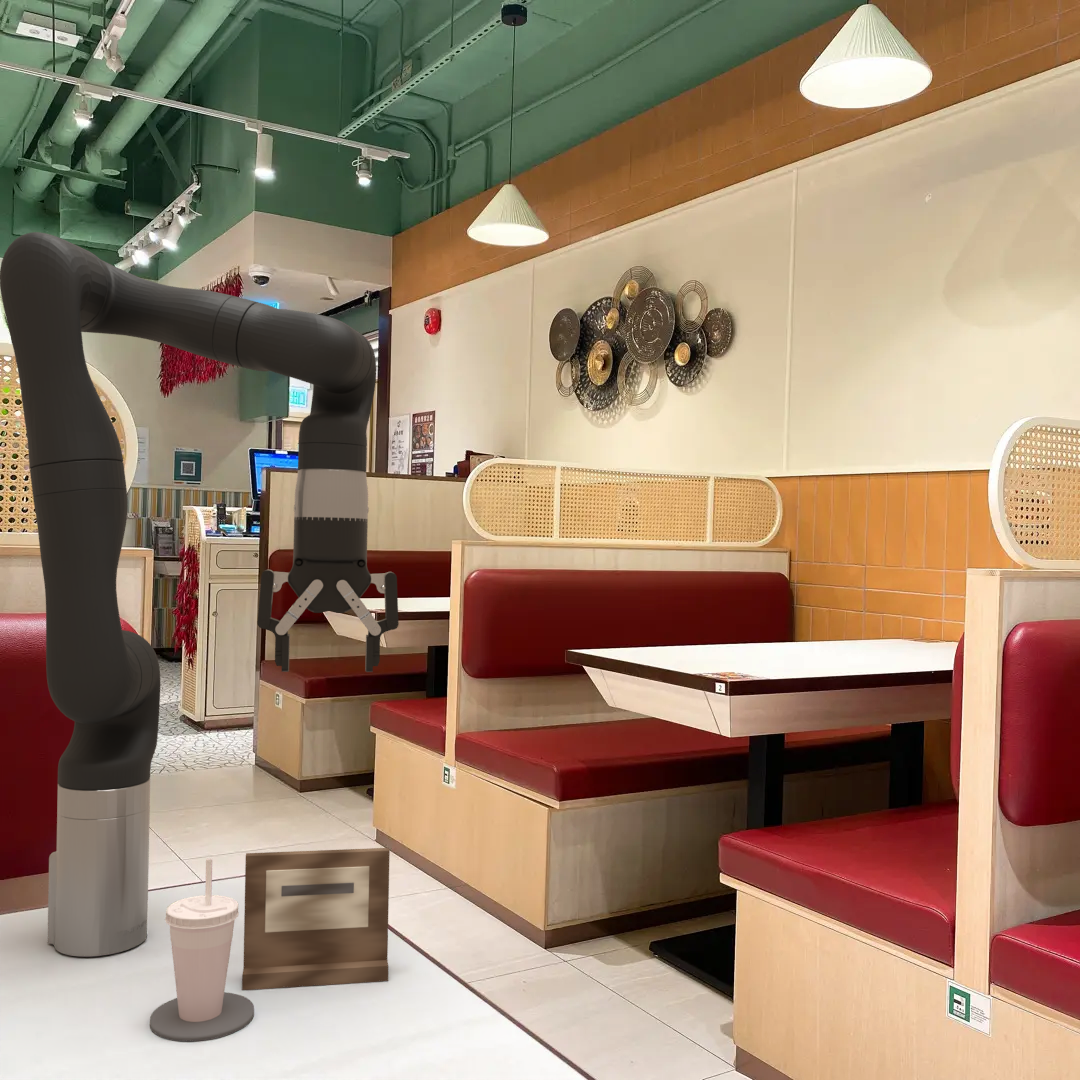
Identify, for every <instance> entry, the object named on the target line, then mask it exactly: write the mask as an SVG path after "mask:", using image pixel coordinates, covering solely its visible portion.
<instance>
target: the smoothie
mask: <svg viewBox="0 0 1080 1080" xmlns="http://www.w3.org/2000/svg"><path fill="white" fill-rule="evenodd" d="M212 890H213V858H212V857H209V858H205V891H204V892H205V893H204V895H195V896H190V897H185V898H181V899H178V900H176V901H174V902H173V903H171V904H169V905H168V906H167V907H166V910H165V919H164V921H165V923H166V925H168V926H169V934H170V942H171V943H170V944H171V951H172V952H171V954H172V961H173V973H174V979H175V980H174V981H175V990H176V998H177V1000H178V1010H179V1017H180V1018H181V1019H182V1020H185V1021H190V1022H201V1021H206V1020H210V1019H213V1018H215V1017H217V1016H218V1015H220V1013H221V1012H222V1005H223V998H224V992H226V991H225V989H226V982H227V977H228V970H229V962H230V955H231V946H232V943H233V936H234V935H233V934H234V927H235V921H236V920H237V918H238V917H239V915H240V914H239V913H240V912H239V903H238V901H237V900H236V899H235V898H232V897H231V896H230V897H229V896H224V895H215V894H214V895H213V893H212Z"/></svg>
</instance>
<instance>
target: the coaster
mask: <svg viewBox="0 0 1080 1080" xmlns="http://www.w3.org/2000/svg"><path fill="white" fill-rule="evenodd" d="M254 1015H255V1006H254V1003H253V1002H252V1001H251V1000H250V999H249V998H247V997H246V996H243V995H241V994H237V993H232V992H228V991H227V992H226V991H224V998H223V1005H222V1012H221V1013H220V1015H218V1016H217V1017H215V1018H213V1019H210V1020H206V1021H201V1022H190V1021H185V1020H182V1019H181V1018H180V1017H179V1010H178V1000H177V997H176V998H173V999H171V1000H168V1001H166V1002H164V1003H162V1004H161V1005H159V1006H158V1007H157V1008H156V1009H154V1010H153V1012H152V1013H151V1014H150V1018H149V1027H150V1030H151V1031H152V1032H153V1033H154V1034H155V1035H156V1036H158V1037H161V1038H162V1039H166V1040H169V1041H170V1040H171V1041H175V1042H201V1041H202V1042H203V1041H204V1042H205V1041H209V1040H214V1039H219V1038H220V1039H221V1038H222V1037H226V1036H229V1035H232V1034H234V1033H236V1032H239V1031H241V1030H242V1029H244V1028H245V1027H247V1026H248V1025H249V1024H250V1023H251V1022H252V1021H253V1019H254ZM250 1021H251V1022H250Z"/></svg>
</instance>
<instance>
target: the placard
mask: <svg viewBox="0 0 1080 1080" xmlns="http://www.w3.org/2000/svg"><path fill="white" fill-rule="evenodd" d="M390 850H391V849H390V848H389V847H375V848H373V847H372V848H371V847H370V848H353V849H352V848H350V849H349V848H346V849H325V850H323V849H320V850H297V851H296V850H295V851H272V852H271V851H270V852H268V851H267V852H247V853H245V867H244V869H245V870H244V871H245V872H244V873H245V875H244V876H245V877H244V878H245V879H244V916H243V917H244V919H243V920H244V923H243V926H244V928H243V965H242V966H243V969H242V974H241V975H242V976H241V977H242V978H241V980H242V981H241V990H242V991H249V990H250V991H251V990H252V991H253V990H264V989H266V990H268V989H280V988H281V989H283V988H298V987H311V986H313V985H314V986H326V985H328V986H329V985H342V984H343V985H345V984H360V983H362V984H363V983H374V982H375V983H377V982H388V981H389V962H388V953H389V952H388V951H389V950H388V949H389V946H388V945H389V943H388V942H389V901H390V899H389V897H390V896H389V895H390V892H389V891H390V852H391V851H390ZM314 986H313V987H314Z"/></svg>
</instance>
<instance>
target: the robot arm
mask: <svg viewBox="0 0 1080 1080" xmlns="http://www.w3.org/2000/svg"><path fill="white" fill-rule="evenodd" d="M0 263H1V264H0V296H1V300H2V301H1V302H2V304H3V310H4V315H5V318H6V319H5V320H6V322H7V328H8V331H9V332H8V333H9V336H10V340H11V344H12V349H13V353H14V357H15V362H16V367H17V373H18V378H19V379H18V380H19V386H20V394H21V395H20V396H21V401H22V402H21V403H22V410H23V417H24V424H25V433H26V438H27V450H28V465H29V473H30V482H31V483H30V484H31V490H32V491H31V492H32V499H33V505H34V511H35V518H36V527H37V533H38V542H39V543H38V545H39V554H40V560H41V568H42V569H41V570H42V576H43V584H44V593H45V594H44V596H45V659H46V660H45V665H46V666H45V667H46V680H47V683H46V684H47V688H48V691H49V695H50V698H51V699H52V701H53V703H54V705H55V706H56V708H57V709H58V711H60V713H62V714H63V715H64V716H65V717H66V718H68V719H69V720H72V721H73V722H74V725H73V731H72V735H71V738H70V739H69V740H70V741H69V743H68V745H67V746H66V748H65V750H64V751H63V753H62V754H61V756H60V758H59V761H58V766H57V807H56V808H57V812H56V814H57V817H56V822H57V823H56V851H53V852H51V854H49V857H48V891H47V893H48V895H47V896H48V897H47V898H48V899H47V900H48V901H47V939H46V940H47V944H50V945H54V948H55V950H56V951H57V952H58V953H61V954H63V955H66V956H73V957H100V956H108V955H113V954H118V953H121V952H124V951H127V950H130V949H133V948H135V947H137V946H139V945H141V944H142V943H144V942H145V941H146V939H147V936H148V910H149V909H148V908H149V907H148V905H149V904H148V901H149V864H150V863H149V862H150V861H149V859H150V858H149V857H150V855H149V854H150V853H149V852H150V819H151V818H150V816H151V814H150V812H151V810H150V809H151V805H150V803H151V768H152V767H151V766H152V762H153V758H154V755H155V752H156V749H157V745H158V737H159V724H160V723H159V720H160V706H161V705H160V703H161V668H160V667H161V666H160V663H159V658H158V656H157V654H156V651H155V650H154V648H153V646H152V645H151V644H150V643H149V641H148V640H147V639H146V638H144V637H143V636H142V635H140V634H138V633H135V632H134V631H130V630H125V629H122V623H121V617H120V612H119V611H120V610H119V605H118V602H119V601H118V597H117V595H118V594H117V575H118V568H119V562H120V557H121V553H122V547H123V543H124V537H125V534H126V533H125V532H126V527H127V519H128V508H129V506H128V505H129V502H128V490H127V489H128V488H127V481H126V474H125V473H126V471H125V465H124V457H123V451H122V445H121V443H120V440H119V437H118V434H117V432H116V429H115V427H114V424H113V422H112V420H111V418H110V416H109V414H108V412H107V409H106V407H105V405H104V404H103V402H102V399H101V397H100V395H99V394H98V391H97V389H96V386H95V385H94V383H93V380H92V378H91V374H90V372H89V368H88V366H87V362H86V357H85V352H84V345H83V344H84V343H83V335H82V334H83V333H92V334H93V333H94V334H103V335H105V334H106V335H118V336H126V337H127V336H128V337H132V338H139V339H144V340H149V341H153V342H157V343H160V344H165V345H167V346H171V347H173V348H175V349H176V348H177V349H179V350H181V351H185V352H188V353H190V354H193V355H196V356H199V357H203V358H205V359H210V360H214V361H216V362H221V363H223V364H229V365H232V366H237V367H239V368H244V369H246V370H253V371H256V372H257V371H258V372H273V373H275V374H279V375H283V376H286V377H289V378H291V379H295V380H299V381H302V382H305V383H308V384H311V385H312V397H311V403H310V404H311V405H310V413H309V414H308V415H307V416H305V417H304V418H303V419H302V421H301V422H300V426H299V431H298V444H297V445H298V451H297V453H298V455H297V458H298V459H297V477H296V482H295V488H294V489H295V490H294V505H293V513H294V514H293V516H294V517H293V553H292V554H293V556H292V567H291V569H290V571H288V572H285V571H273V570H272V569H266V570H263V571H262V573H261V578H260V590H259V599H258V600H259V601H258V610H257V612H258V613H257V621H256V623H257V626H258V628H260V629H261V630H262V629H263V630H266V631H270V632H272V634H273V635H274V638H275V639H274V645H275V646H274V662H275V665H276V666H277V667H281V672H283V673H284V672H286V673H287V672H289V671H290V640H291V639H290V637H291V634H290V633H289V630H290V629H291V627H293V626H294V623H296V622H297V621H298V619H299V618H300V616H302V615H303V613H304V612H305V610H308V611H310V612H312V613H315V614H321V613H322V614H323V613H326V612H331V613H336V614H345V613H347V612H349V611H351V610H352V611H353V612H354V614H355V615H356V616H357V617H358V619H360V621H361V622H362V624H363V625H364V627H365V628H366V629H367V634H366V635H365V665H364V667H365V669H364V671H365V672H366V673H373V672H374V671H373V669H374V667H378V666H379V664H380V661H381V660H380V655H381V638H382V637H381V636H382V635H383V634H384V633H387V632H390V631H393V630H397V628H399V623H400V622H399V604H398V603H399V602H398V600H399V599H398V577H397V574H396V573H394V572H392V571H388V572H385V573H370V571H369V569H368V564H367V563H368V524H369V523H368V521H369V511H370V510H369V509H370V508H369V490H368V489H369V487H368V479H367V478H368V477H367V473H366V472H367V466H368V465H367V462H368V461H367V460H368V457H367V455H368V454H367V453H368V437H367V430H368V424H369V422H370V418H371V413H372V412H371V411H372V407H373V401H374V395H375V391H376V390H375V389H376V384H377V383H376V381H377V361H376V355H375V351H374V348H373V346H372V344H371V343H370V341H369V340H368V338H367V337H366V336H364V335H363V334H362V333H360V332H359V331H357V330H356V329H354V328H353V327H351V326H350V325H348V324H347V323H345V322H344V321H341V320H339V319H337V318H334V317H331V316H326V315H324V314H323V315H322V314H317V313H315V312H314V313H313V312H307V311H301V310H300V311H299V310H295V309H294V310H293V309H286V308H277V307H274V306H271V305H269V304H265V303H262V302H258V301H255V300H250V299H247V298H243V297H239V296H235V295H232V294H226V293H221V292H217V291H213V290H212V291H211V290H206V289H197V288H187V287H178V286H171V285H166V284H162V283H159V282H154V281H151V280H148V279H145V278H142V277H139V276H137V275H135V274H133V273H130V272H128V271H126V270H123V269H122V268H119V267H117V266H115V265H113V264H111V263H109V262H107V261H104V260H102V259H100V258H99V257H98V255H95V254H94V253H92V252H91V251H89V250H87V249H85V248H82V247H81V246H79V245H77V244H74V243H73V242H70V241H68V240H66V239H65V238H61V237H58V236H56V235H54V234H50V233H46V232H40V231H39V232H38V231H33V232H28V233H23V234H21V235H20V236H18V237H17V238H15V239H14V240H13V241H12V242H11V243H10V244H9V245H8V247H7V248H6V250H5V252H4V254H3V256H2V260H1V262H0ZM286 582H287V583H288V586H290V588H291V589H292V591H294V593H295V594H296V596H297V597H298V598H297V599H296V600H295V602H294V603H293V604H292V605H291V607H290V608H289V609H288V611H286V612H285V614H284V615H283V617H282V618H281V619H280V620H279V619H277V618H274V617H272V610H273V609H272V608H273V598H274V597H273V596H274V593H277V592H279V591H280V590H281V588H282V585H283V584H285V583H286ZM371 584H374V585H375V586H376V590H377V591H378V593H380V594H384V610H385V612H384V613H385V616H384V617H385V618H383V619H381V620H376V619H375V618H374V616H373V614H371V613H372V612H370V610H368V607H367V606H366V605H365V603H363V601H362V600H361V597H362V596H363V595H364V593H366V591H367V590H368V589H369V587H370V585H371Z"/></svg>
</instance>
